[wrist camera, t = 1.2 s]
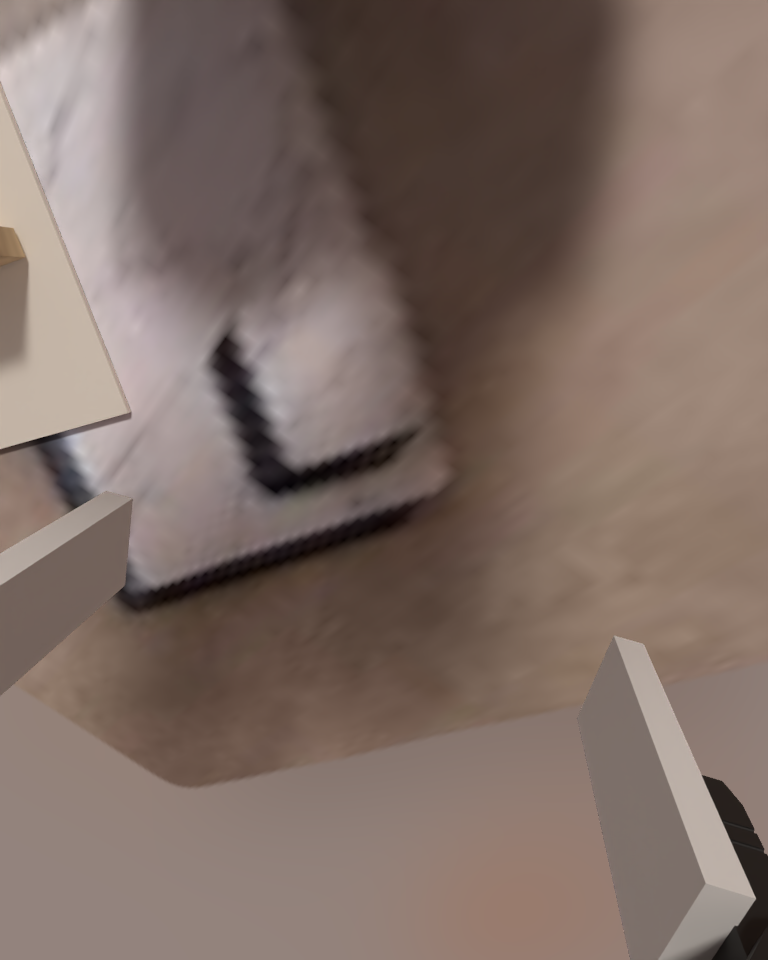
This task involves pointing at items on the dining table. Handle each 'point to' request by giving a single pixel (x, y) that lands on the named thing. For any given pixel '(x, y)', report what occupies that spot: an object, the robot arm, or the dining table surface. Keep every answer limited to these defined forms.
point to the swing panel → (9, 246)
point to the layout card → (44, 316)
